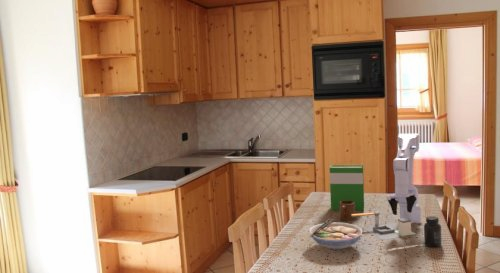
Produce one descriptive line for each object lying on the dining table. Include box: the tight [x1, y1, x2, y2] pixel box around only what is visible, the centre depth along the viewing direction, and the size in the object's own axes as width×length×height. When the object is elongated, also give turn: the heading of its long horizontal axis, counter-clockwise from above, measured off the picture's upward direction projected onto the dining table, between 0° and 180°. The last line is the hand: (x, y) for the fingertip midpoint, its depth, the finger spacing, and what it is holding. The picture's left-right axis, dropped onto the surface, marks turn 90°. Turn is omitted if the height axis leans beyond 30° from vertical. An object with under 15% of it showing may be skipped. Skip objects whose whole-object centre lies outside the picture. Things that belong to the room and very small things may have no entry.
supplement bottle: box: [423, 215, 443, 248], centre depth 190 cm, size 7×7×12 cm
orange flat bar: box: [351, 211, 380, 217], centre depth 214 cm, size 3×13×1 cm, turn 93°
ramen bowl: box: [308, 218, 364, 251], centre depth 194 cm, size 25×23×8 cm
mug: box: [339, 201, 356, 223], centre depth 228 cm, size 12×8×9 cm, turn 149°
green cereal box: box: [329, 164, 365, 212], centre depth 249 cm, size 18×7×24 cm, turn 74°
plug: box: [397, 218, 412, 234], centre depth 205 cm, size 4×4×6 cm
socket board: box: [362, 214, 417, 241], centre depth 209 cm, size 18×18×7 cm
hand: (402, 213), depth 206 cm, fingers open, 7 cm apart
